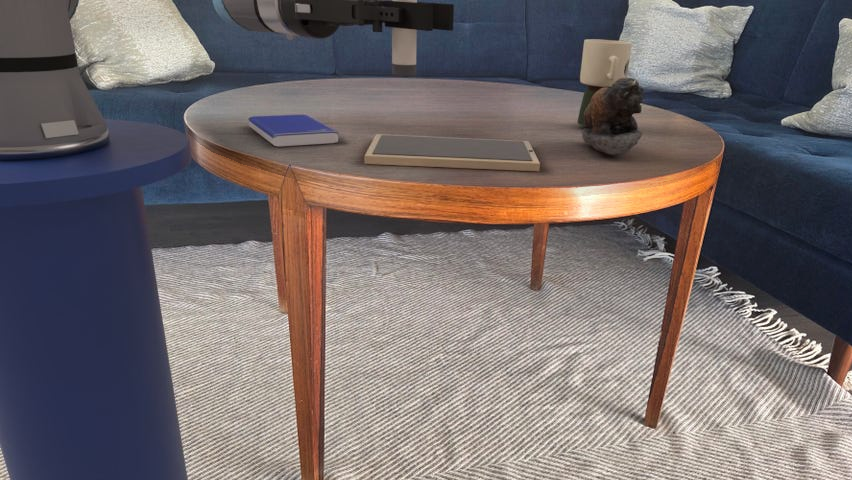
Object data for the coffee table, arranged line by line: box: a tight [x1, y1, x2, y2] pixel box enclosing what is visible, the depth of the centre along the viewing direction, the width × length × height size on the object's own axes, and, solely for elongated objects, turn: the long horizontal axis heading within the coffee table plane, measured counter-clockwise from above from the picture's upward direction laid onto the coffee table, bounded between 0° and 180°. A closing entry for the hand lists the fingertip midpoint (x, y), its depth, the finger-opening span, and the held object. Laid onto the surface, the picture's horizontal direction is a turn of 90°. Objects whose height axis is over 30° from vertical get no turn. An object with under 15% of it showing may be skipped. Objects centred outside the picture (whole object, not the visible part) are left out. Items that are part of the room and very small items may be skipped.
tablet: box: [364, 133, 541, 172], centre depth 79 cm, size 20×12×1 cm, turn 92°
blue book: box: [248, 114, 339, 147], centre depth 84 cm, size 2×8×12 cm
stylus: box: [391, 0, 418, 77], centre depth 73 cm, size 3×3×12 cm
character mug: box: [576, 38, 633, 126], centre depth 99 cm, size 11×7×13 cm, turn 5°
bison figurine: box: [581, 77, 644, 156], centre depth 84 cm, size 12×7×10 cm, turn 7°
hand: (440, 17), depth 70 cm, fingers closed on stylus, 3 cm apart
